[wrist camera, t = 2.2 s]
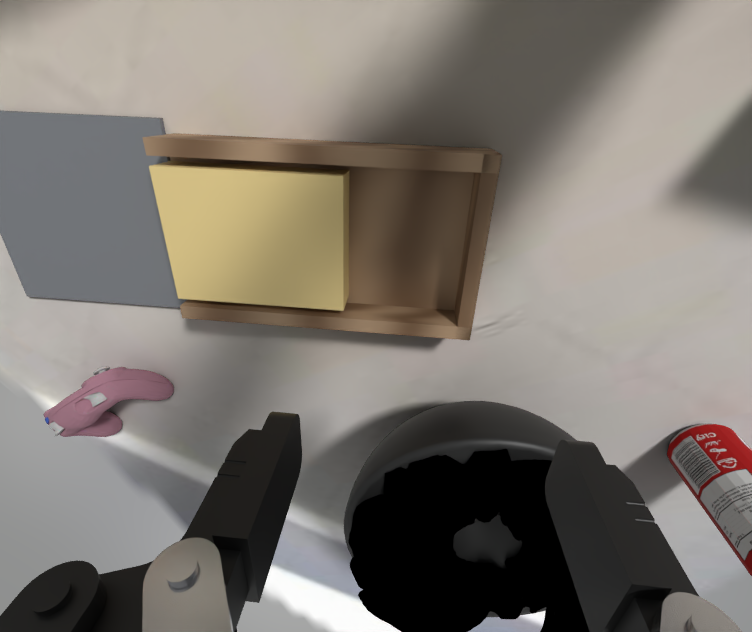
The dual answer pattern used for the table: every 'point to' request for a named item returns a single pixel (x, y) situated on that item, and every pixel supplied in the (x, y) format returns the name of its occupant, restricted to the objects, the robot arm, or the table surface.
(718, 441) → the soda can
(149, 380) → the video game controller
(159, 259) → the charcoal mat
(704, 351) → the table surface
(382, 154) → the walnut box
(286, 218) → the cover plate
